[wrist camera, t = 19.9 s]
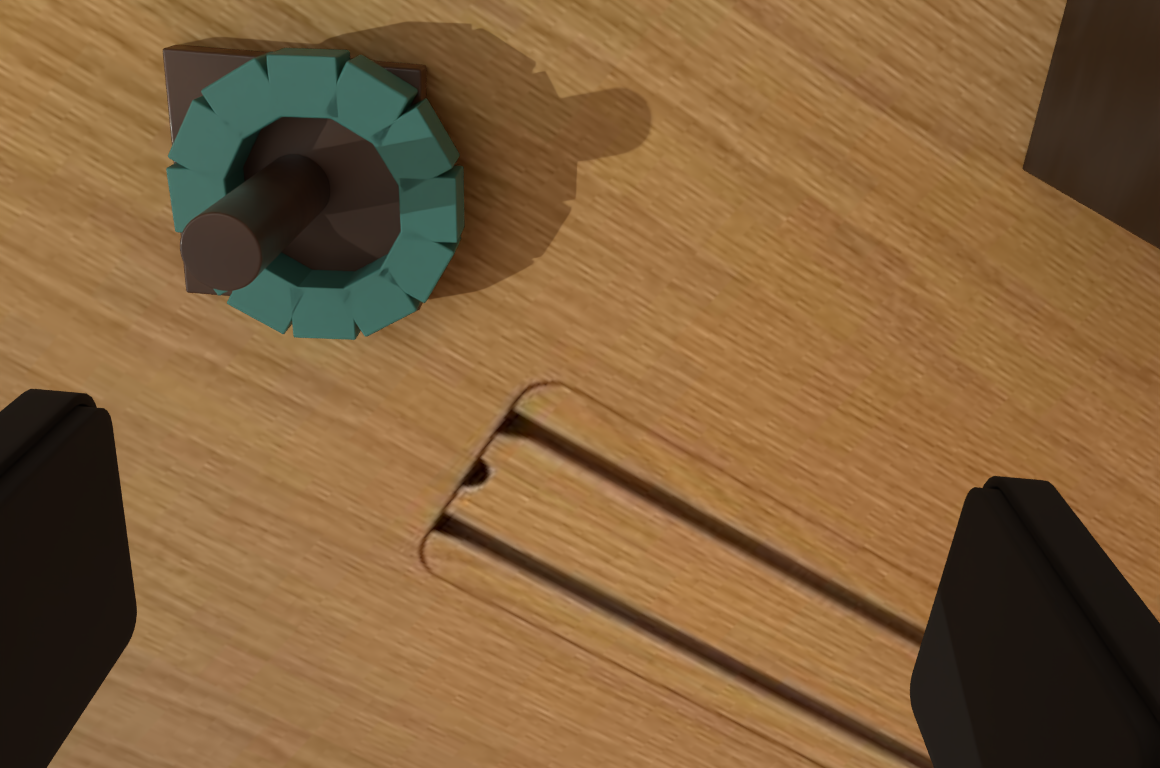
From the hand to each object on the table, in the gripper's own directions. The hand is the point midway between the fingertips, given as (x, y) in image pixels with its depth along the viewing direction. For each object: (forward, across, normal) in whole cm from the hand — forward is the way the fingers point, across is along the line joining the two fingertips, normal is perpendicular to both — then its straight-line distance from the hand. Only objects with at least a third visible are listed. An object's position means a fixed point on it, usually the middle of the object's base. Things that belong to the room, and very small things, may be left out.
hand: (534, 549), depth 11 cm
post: (+28, +10, +4) cm, 30 cm away
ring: (+26, +9, +4) cm, 28 cm away
